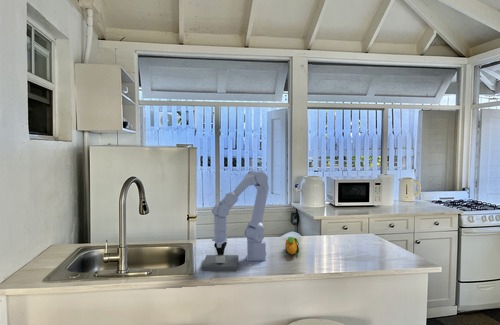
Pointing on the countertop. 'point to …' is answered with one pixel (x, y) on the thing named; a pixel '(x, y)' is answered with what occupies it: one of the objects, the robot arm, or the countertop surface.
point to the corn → (292, 246)
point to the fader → (220, 258)
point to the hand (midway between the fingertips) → (220, 258)
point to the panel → (228, 265)
